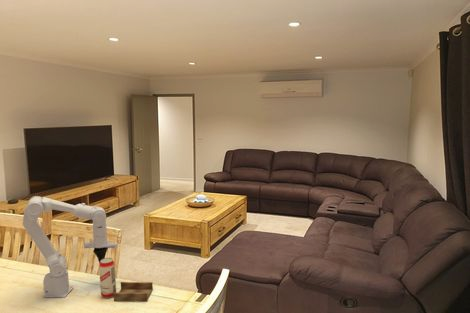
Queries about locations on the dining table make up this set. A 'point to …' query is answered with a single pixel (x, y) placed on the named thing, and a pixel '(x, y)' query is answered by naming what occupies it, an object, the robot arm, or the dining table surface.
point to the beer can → (107, 277)
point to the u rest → (134, 291)
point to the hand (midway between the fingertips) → (101, 262)
